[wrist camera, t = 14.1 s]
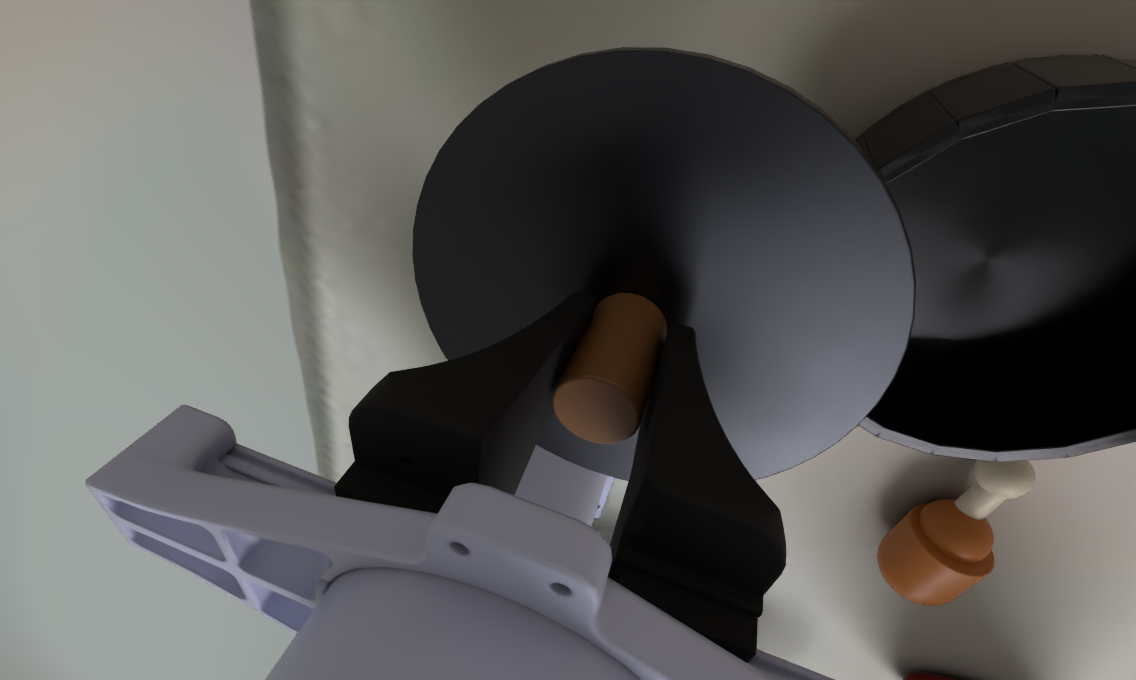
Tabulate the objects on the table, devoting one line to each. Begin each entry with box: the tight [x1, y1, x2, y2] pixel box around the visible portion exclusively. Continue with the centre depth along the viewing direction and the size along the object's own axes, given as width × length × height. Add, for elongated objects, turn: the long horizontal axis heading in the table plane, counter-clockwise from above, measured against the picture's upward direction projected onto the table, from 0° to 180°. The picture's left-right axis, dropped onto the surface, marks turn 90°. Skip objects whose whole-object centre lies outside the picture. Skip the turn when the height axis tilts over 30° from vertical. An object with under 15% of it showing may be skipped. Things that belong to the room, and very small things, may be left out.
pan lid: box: [413, 47, 916, 481], centre depth 14 cm, size 14×14×5 cm
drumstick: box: [877, 460, 1035, 605], centre depth 25 cm, size 10×4×4 cm, turn 170°
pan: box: [856, 55, 1136, 462], centre depth 18 cm, size 13×13×4 cm
